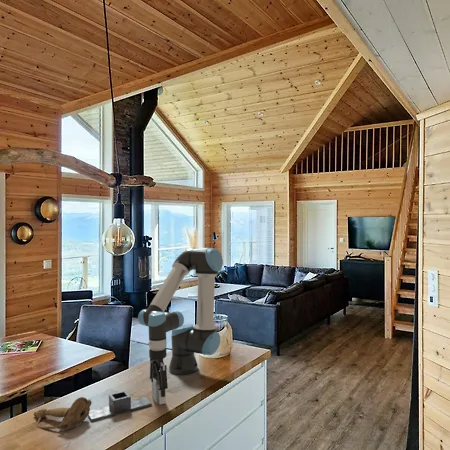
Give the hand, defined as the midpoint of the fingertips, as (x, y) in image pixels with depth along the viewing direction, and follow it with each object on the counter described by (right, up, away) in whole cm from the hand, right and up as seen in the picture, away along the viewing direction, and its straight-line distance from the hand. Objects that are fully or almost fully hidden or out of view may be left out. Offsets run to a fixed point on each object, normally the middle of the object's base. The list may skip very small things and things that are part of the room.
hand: (158, 400), depth 178 cm
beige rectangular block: (0, 0, 0) cm, 0 cm away
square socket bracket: (-15, -1, -8) cm, 17 cm away
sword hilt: (-38, -2, -17) cm, 41 cm away
